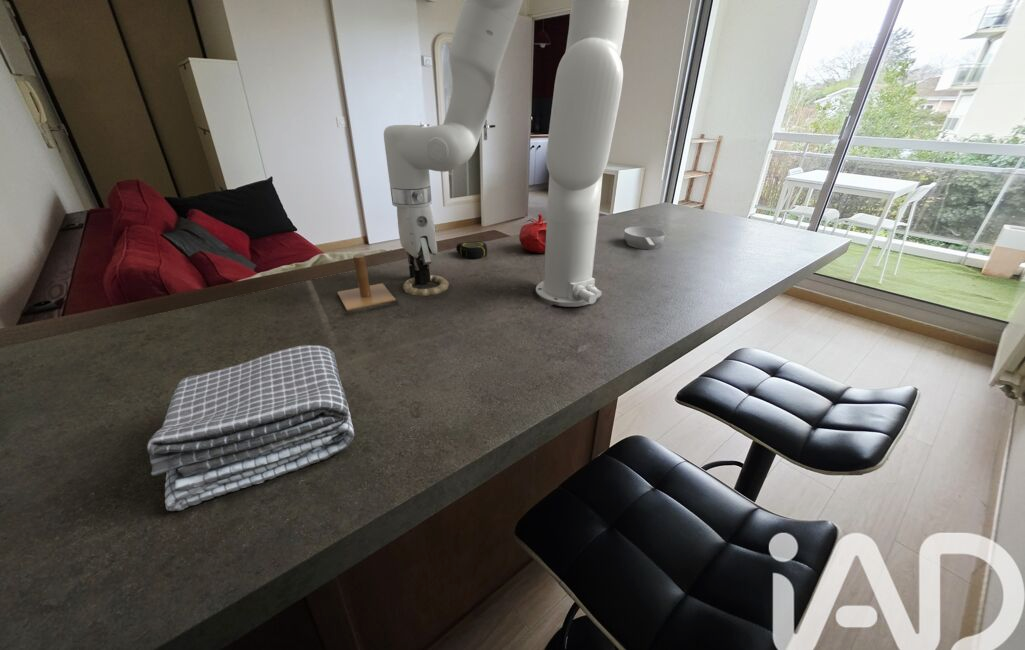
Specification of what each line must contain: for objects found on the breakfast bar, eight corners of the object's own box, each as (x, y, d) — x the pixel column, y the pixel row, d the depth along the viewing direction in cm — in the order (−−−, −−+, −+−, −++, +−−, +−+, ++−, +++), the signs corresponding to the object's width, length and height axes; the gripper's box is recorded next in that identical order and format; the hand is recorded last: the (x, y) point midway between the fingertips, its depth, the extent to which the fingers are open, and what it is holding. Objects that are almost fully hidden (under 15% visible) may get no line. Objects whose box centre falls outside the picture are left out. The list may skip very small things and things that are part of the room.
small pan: (659, 239, 119) (661, 226, 117) (671, 260, 103) (674, 245, 102) (621, 237, 120) (622, 224, 118) (627, 258, 105) (629, 243, 103)
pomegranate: (511, 251, 109) (512, 215, 104) (532, 241, 116) (533, 208, 112) (544, 258, 104) (545, 221, 99) (563, 248, 111) (565, 213, 107)
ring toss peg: (396, 304, 80) (389, 259, 75) (347, 315, 76) (338, 267, 71) (383, 288, 87) (376, 245, 82) (338, 297, 82) (328, 252, 78)
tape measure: (481, 252, 108) (481, 238, 106) (491, 260, 102) (491, 246, 100) (456, 255, 105) (455, 241, 103) (464, 264, 100) (464, 249, 98)
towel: (361, 451, 46) (349, 395, 43) (159, 519, 39) (122, 458, 35) (340, 380, 58) (329, 331, 54) (181, 421, 50) (155, 368, 47)
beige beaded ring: (455, 293, 85) (455, 285, 84) (412, 303, 80) (411, 294, 80) (439, 278, 91) (438, 271, 91) (398, 286, 87) (397, 278, 86)
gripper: (445, 201, 75) (451, 294, 84) (416, 187, 88) (424, 269, 96) (405, 206, 72) (416, 301, 81) (380, 190, 84) (392, 275, 93)
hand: (420, 283), depth 88 cm, fingers closed on beige beaded ring, 2 cm apart
